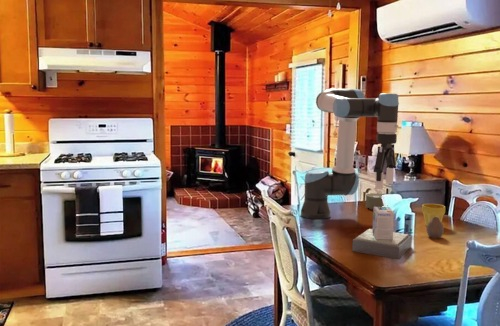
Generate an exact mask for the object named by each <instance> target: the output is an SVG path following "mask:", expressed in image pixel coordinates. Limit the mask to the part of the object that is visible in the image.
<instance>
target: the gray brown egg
mask: <svg viewBox="0 0 500 326" xmlns="http://www.w3.org/2000/svg"><path fill="white" fill-rule="evenodd" d="M444 230H445V228H444V224H443V223H442V222H441V221H440V220H439V218H438V217H433V218H432V220H431V221H430V222H429V223H428V225H427V226H426V233H427V235H428V237H429V238H431V239H441V238H442V237H443V234H444Z"/></svg>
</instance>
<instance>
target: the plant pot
mask: <svg viewBox="0 0 500 326" xmlns="http://www.w3.org/2000/svg"><path fill="white" fill-rule="evenodd" d="M421 206H422V207H421V213H423V218H424V223H425V226H426V227H427V225H428V223H429V222H430V221H431V220H432V218H433V217H438V218H439V220H440V221H441V223H442V221H443V218H444V215H445V214H446V206H445V205H443V204H439V203H438V204H437V203H424V204H421Z"/></svg>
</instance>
